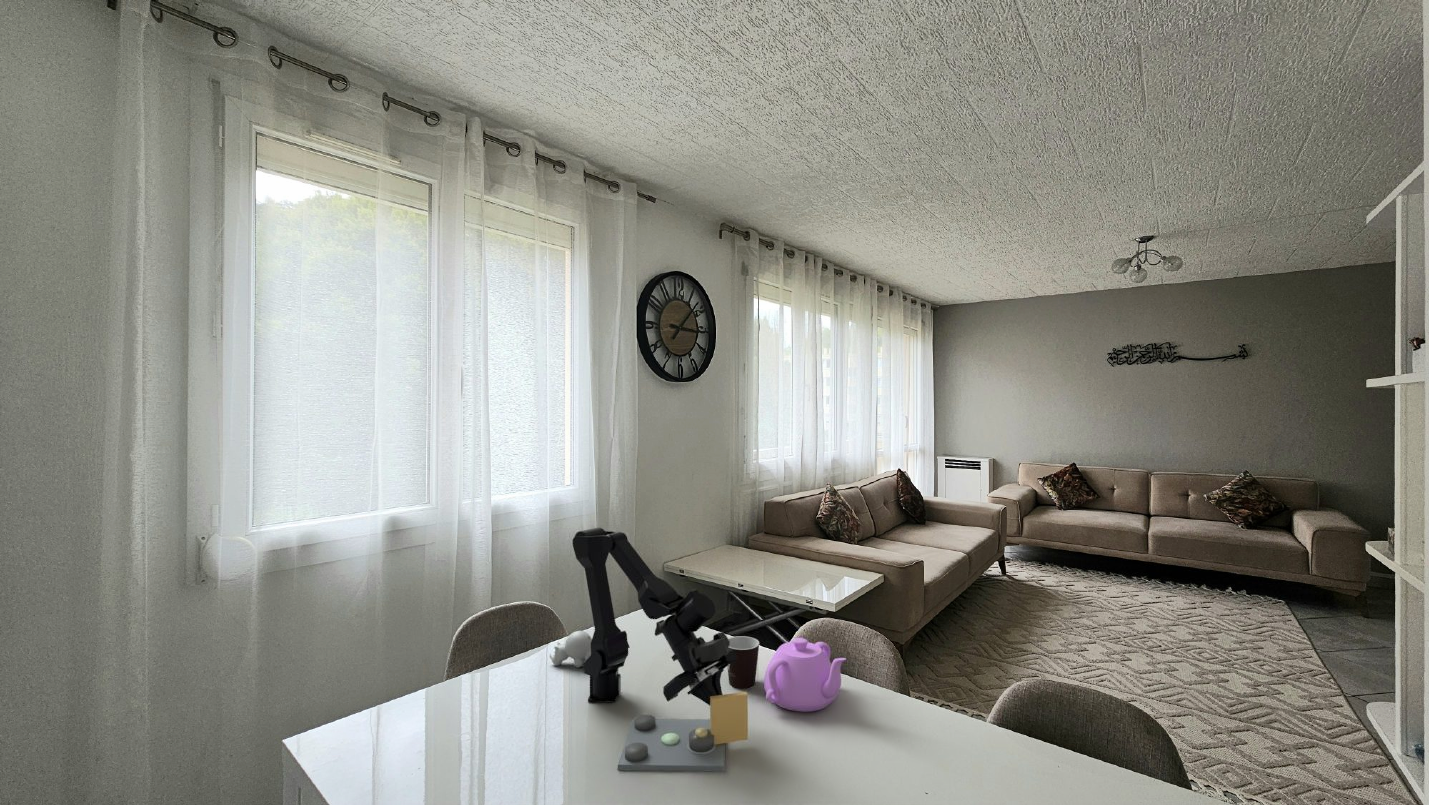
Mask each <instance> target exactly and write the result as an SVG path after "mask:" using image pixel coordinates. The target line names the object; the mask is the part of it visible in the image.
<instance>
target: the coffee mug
mask: <svg viewBox="0 0 1429 805" xmlns="http://www.w3.org/2000/svg"><path fill="white" fill-rule="evenodd" d="M728 640H729V641H730V645H729V647H727V648H730V649H733V650H734V652H735V654H736V655H737V657H738V658H736V659H735V660H734V661H733V662H731V663H730V664H729V665H728V666H727V667H726V668H727V673H728V674H727V675H728V683H729V686H730V687H731V686H732V687H731V688H733V689H737V690H749V689H752V688H753V687H755V685H756V679H757V678H756V677H757V669H758V668H757V667H758V658H759V649H760V648H759V647H760V641H759V640H758V639H757V638H754V637H751V636H745V635H743V636H740V635H739V636H737V635H736V636H732V637H729V638H728Z"/></svg>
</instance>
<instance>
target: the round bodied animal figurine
mask: <svg viewBox="0 0 1429 805" xmlns="http://www.w3.org/2000/svg"><path fill="white" fill-rule="evenodd" d="M592 638H593V637H592V636H591V635H590V634H589V633H588V632H587V631H584V630H576V631H573V632H572V633H571V634H569V635H568V637H567V639H566V640H565V643H564V644H563V643H562V644H561V643H560V642H557V646H554V647H553V649H554V652H553V654H551V653H549V659H550V660H551V663H552V664H553V665H554V666H560V665H562V663H563V662H564V661H566V660H568V659H569V658H570V659H573V663H574V664H573V665H574V667H575V668H577V669H578V668H581V667H583V663H584V662H585V661H586V660H587V659H588V658H589V657H590V655H591V641H592Z"/></svg>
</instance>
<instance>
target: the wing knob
mask: <svg viewBox="0 0 1429 805" xmlns="http://www.w3.org/2000/svg"><path fill="white" fill-rule="evenodd" d="M748 704H749V702H748V693H747V691H742V692H733V693H726V694H723V695H718V696H711V697H710V706H709V712H710V713H709V719H710V730H709V729H706V728H697V729H695V730H692V731H691V732H690V733H689V748H690V749H691V750H693V751H695V752H707V751H709V750H711V749H712V748H713V747H714V745H716V744H722V743H725V744H727V743H734V742H739V741H746V740H749V735H748V734H749V727H748V726H749V722H748V721H749V719H748V718H749V716H748V715H749V713H748Z"/></svg>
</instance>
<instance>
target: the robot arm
mask: <svg viewBox="0 0 1429 805" xmlns="http://www.w3.org/2000/svg"><path fill="white" fill-rule="evenodd" d="M572 548H573V551H574V554H575V559H576V560H577V561H578V562H579V563H580V565H581V566H582V567H583V569H584V571H585V572H584V574H585V577H586V579H585V580H586V584H587V590H588V595H589V596H588V597H589V602H590V608H591V614H592V619H593V625H594V626H593V627H594V631H593V634H592V637H591V638H592V641H591V655H590V657H589V658H588V659H587V660H586V661H585V662H584V663H583V666H582V669H583V673H584V674H585V675H587V676H589V697H588V698H587V702H588V703H615V702H616V701H617V698H618V697H619V696H620V693H621V690H622V681H621V680H622V676H621V673H619V669H620V668H622V667H624V666H625V662H626V660H627V657H628V656H629V648H630V647H631V646H630V644H629V642H628V634H627V631H626V630H621V629H620V628H619V627H618V625H617V623H616V617H615V611H614V606H613V601H612V596H611V588H610V583H609V577H608V572H607V571H608V570H607V566H606V564H607V560H608V557H609V554H610V556H611V557H612V558H613V559H614V561H615V562H616V563H617V565H618V567H619V568H620V569H621V571H622V572H623V573H624V574H625V575H626V577H627V579H628V580H629V581H630V583H631V584H632V586H634V589H635V590H636V591H637V600H638V604H639V605H640V606H641V609H642V610H643V613H644V614H645V616H646V617H647V618H649V619H650V620H658V619H660V618H665V617H667V616H668V617H667V618H665V619H662V620H659V621H657V622H656V624H655V625H656V627H655V629H654V636H655V637H658V636H659V635H663V636H664V638H665V641H666V642H667V644H668V645H669V647H670V649H671V651H672V652H673V655H672V656H671V657H670V658H671V659H672V662H675V661H678V663H679V665H680V667H681V668H682V670H683V672H681V673H680V674H677V675H676V676H674V677H672V679H670V681H668V683H666V684H664V686H663V690H662V691H663V692H662V693H663V695H664V698H665V700H666V701H667V702H670V701H672V700H674V699H675V698H677V697H679V693H680V692H681V691H683V690H684V689H685V688H687V687H689V691H687V692H686V693H687V695H692V696H694V697H696V698H698V699H699V700H701V701H702V702H703V703H705V704H707V705H708V706H709V707H710V697H711V696H718V695H724V694H723V691H722V690H723V689H722V684H721V678H722V673H723V672H724V671H725V670H724V669H726V668H727V666H728V665H729V664H730V663H731V662H733V661H734V660H735V659H736V658H738V657H737V655H736V654H735V652H734V650H733V649H730V648H727V647H729V645H730V641H729V640H728V639H729V638H728V636H727V635H726V633H724V631H720V632H718V633H715V634H713V636H712V638H713V639H711V640H710V641H706V640H705V639H704V637H702V636H699V637H697V636H696V634H695V632H697V631H698V630H700V629H701V628H702V627H703V626H704V625H705V624H706V623H707V622H709V621H710V620H711V619H712V618H713V617H714V616H715V614H716V606H715V604H714V602H713V600H712V599H711V598H709V597H708V596H707V595H705V594H703V593H701V592H699V590H698V589H697V588H696V589H692V590H690V591H689V592H688V593H687V594H686V596H685V595H682V594H680V593H678V592H677V591H676V589H674V587H673V586H671V584H670V583H668V582H667V581H666V580H664V579H662V578H660V577H658V576H656V575H655V574H654V573H653V571H652V570H651V569H650V568H649V566H648V565H647V564H646V562H645V561H644V560H643V559H642V557H641V555H639V553H638V552H637V550H635V548H634V547H633V545H632V544H631V543H630V542H629V539H628V536H627V534H626V533H625V532H621V531H617V532H616V531H613V530H604V528H602V527H595V528H594V527H593V528H590V529H584V530H579V531H577V532H576V533H575V534H574V537H573V538H572Z"/></svg>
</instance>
